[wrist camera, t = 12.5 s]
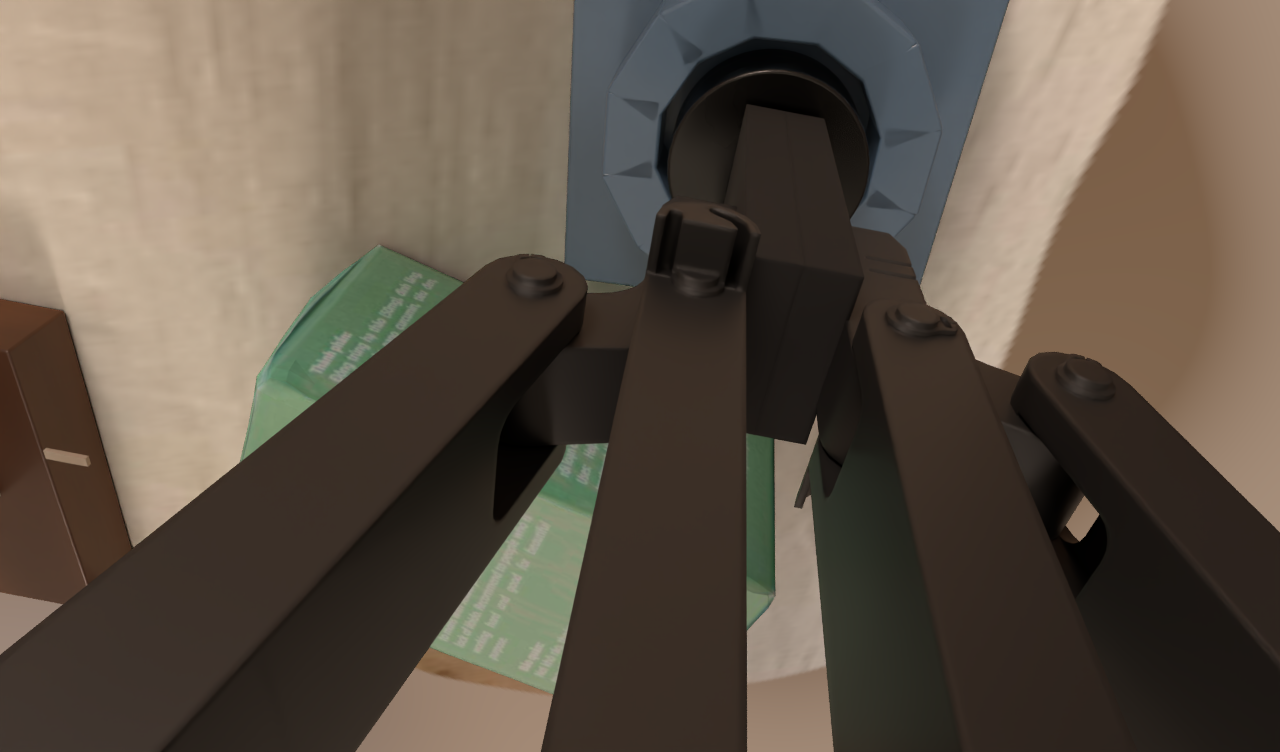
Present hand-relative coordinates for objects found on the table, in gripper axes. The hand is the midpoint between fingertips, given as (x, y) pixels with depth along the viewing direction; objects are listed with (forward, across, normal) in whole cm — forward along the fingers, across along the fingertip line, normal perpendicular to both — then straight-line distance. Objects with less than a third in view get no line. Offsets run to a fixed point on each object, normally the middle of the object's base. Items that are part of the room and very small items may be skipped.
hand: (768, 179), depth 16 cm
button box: (+5, 0, 0) cm, 5 cm away
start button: (+2, 0, 0) cm, 2 cm away
